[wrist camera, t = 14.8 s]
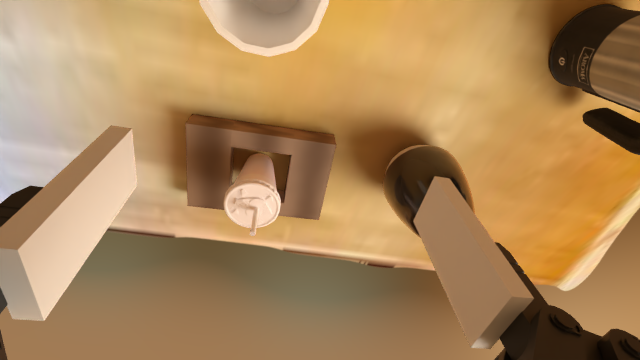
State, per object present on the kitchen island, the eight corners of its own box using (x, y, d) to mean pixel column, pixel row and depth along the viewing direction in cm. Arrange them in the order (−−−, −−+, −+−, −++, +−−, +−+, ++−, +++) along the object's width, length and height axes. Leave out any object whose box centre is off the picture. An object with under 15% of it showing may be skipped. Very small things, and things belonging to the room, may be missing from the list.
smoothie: (273, 190, 48) (266, 261, 36) (229, 175, 46) (207, 245, 35) (290, 154, 45) (288, 218, 33) (244, 136, 44) (225, 198, 32)
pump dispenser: (406, 208, 52) (442, 287, 39) (362, 168, 47) (387, 242, 34) (462, 166, 48) (523, 238, 35) (421, 119, 44) (473, 180, 31)
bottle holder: (193, 193, 48) (187, 205, 45) (192, 114, 42) (185, 123, 39) (317, 207, 50) (318, 219, 48) (333, 134, 44) (336, 144, 42)
